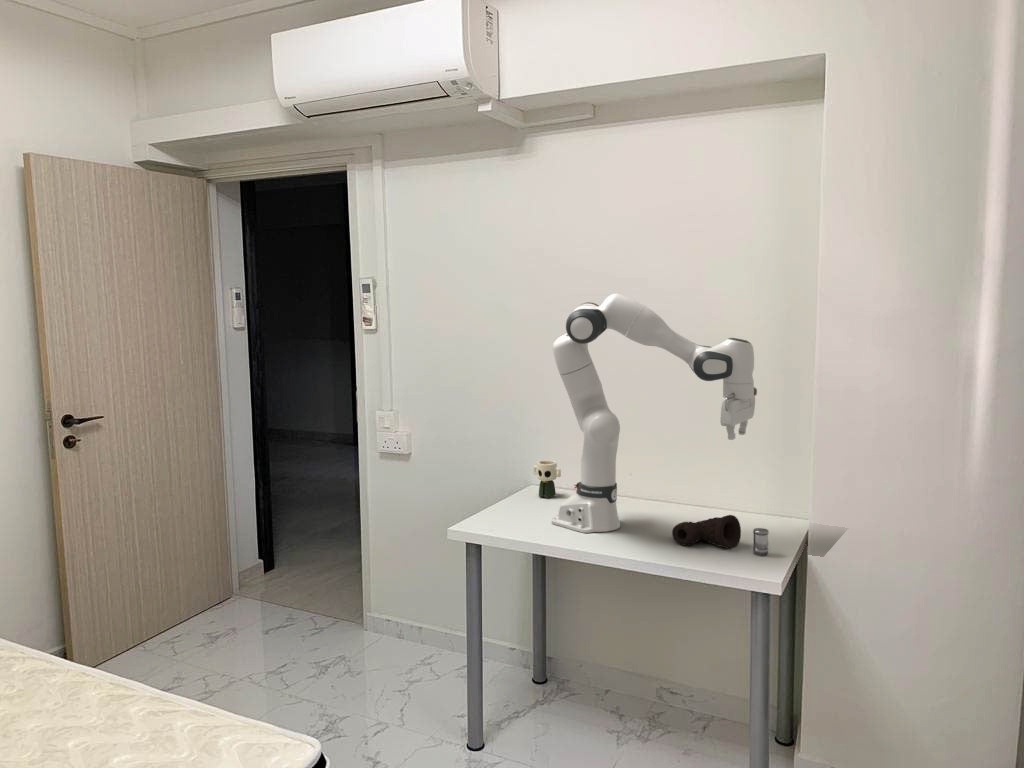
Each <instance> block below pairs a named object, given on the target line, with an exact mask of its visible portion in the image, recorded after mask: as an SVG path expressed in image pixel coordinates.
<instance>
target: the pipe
mask: <svg viewBox="0 0 1024 768" xmlns="http://www.w3.org/2000/svg"><path fill="white" fill-rule="evenodd" d="M741 527H742V526H741V524H740V520H739V519H738V518H737V517H736V516H735V515H733V514H727V515H724V516H722V517H713V518H708V519H703V520H698V521H696V522H694V521H683V522H679V523H677V524H676V525H675V526H673V528H672V531H671V533H672V534H671V535H672V539H673V540H674V541H675V542H676V543H677V544H679V545H681V546H690V545H693V544H694V543H697V542H698V541H701V540H705V542H706V543H710V544H712V545H717V546H719V547H722V548H725V549H733V548H735V547H737V546H738V544H739V543H740V540H741V536H742V529H741Z"/></svg>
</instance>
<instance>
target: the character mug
mask: <svg viewBox="0 0 1024 768" xmlns="http://www.w3.org/2000/svg"><path fill="white" fill-rule="evenodd" d="M557 472H558V473H557ZM561 472H562V471H561V468H560V467H557V461H555V460H548V459H547V460H539V461H537V465H533V475H537V479H538V480H540V482H539V487H538V496H539V497H541V498H543V497H544V498H553V497H554V496H556V495H557V494H556V486H555V482H554V481H555V480H556V479H557V478H561V476H562V475H561V474H562V473H561Z"/></svg>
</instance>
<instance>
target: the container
mask: <svg viewBox="0 0 1024 768" xmlns="http://www.w3.org/2000/svg"><path fill="white" fill-rule="evenodd" d="M752 531H753V532H752V533H753V537H752V538H753V539H752V540H753V542H752V543H753V544H752V545H753V546H752V553H753V555H754V556H757V557H766V556H768V555H769V533H770V531H769V529H767V528H764V527H763V528H762V527H756V528H753V529H752Z"/></svg>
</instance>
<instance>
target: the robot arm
mask: <svg viewBox="0 0 1024 768" xmlns="http://www.w3.org/2000/svg"><path fill="white" fill-rule="evenodd" d="M565 330H566V333H564V334H563V335H561V336H559V337H558V338H556V340H555V341H554V342H553V345H552V351H553V356H554V360H555V364H556V367H557V370H558V373H559V375H560V378H561V380H562V383H563V385H564V388H565V390H566V392H567V396H568V397H569V398H568V399H569V400H570V401H569V402H570V404H571V408H572V409H573V412H574V415H575V417H576V421H577V423H578V426H579V428H580V430H581V431H582V433H583V447H582V455H581V458H580V466H581V467H580V473H581V474H580V481H579V482H577V483H576V484H574V485H573V486H574V487H573V489H576V491H575V493H573V494H572V495H571V496H569V497H568V498H566V499H565V500H564V501H562V502H561V504H560V506H559V510H558V515H555V516H554V517H552V519H551V524H552V525H556V526H560V527H563V528H566V529H569V530H573V531H577V532H581V533H584V534H588V533H595V532H596V533H598V532H599V533H600V532H611V531H616V530H618V529H619V528H620V527H621V522H620V520H619V513H618V507H617V506H618V505H617V500H618V484H617V483H618V482H616V481H617V479H616V478H617V477H616V476H617V474H616V473H617V472H616V471H617V469H616V468H617V463H616V462H617V453H618V449H619V447H618V446H619V441H620V433H621V425H620V420H619V418H618V416H617V415H616V413H614V412H613V411H612V410H611V409H610V407H609V406H608V402H607V399H606V396H605V393H604V390H603V384H602V382H601V380H600V377H599V375H598V372H597V370H596V369H597V368H596V367H595V365H594V361H593V360H592V357H591V354H590V352H589V347H588V346H589V343H592V342H593V341H595V340H596V339H597V338H598V337H599V336H601V335H602V334H603V333H604V332H605V331H606V330H613V331H616V332H617V333H618V334H621V335H622V336H624V337H626V338H627V339H628V340H630V341H633V342H636V343H638V344H640V345H643V346H647V347H657V348H661V349H663V350H665V351H667V352H669V353H670V354H672V355H674V356H676V357H677V358H679V359H680V360H683V361H684V362H686V364H687V365H688V366H689V368H690V370H691V371H692V372H693V373H694V374H695V376H696V377H697V378H699V379H700V380H702V381H704V382H713V381H717V380H718V381H719V380H722V381H723V382H722V383H723V384H722V397H723V398H725V399H724V400H723V401H722V403H721V408H720V420H719V421H720V425H721V427H726V432H727V439H728V440H730V441H733V440H735V439H736V433H735V429H736V426H737V425H738V424H739V428H738V435H739V436H740V435H741V436H743V435H746V432H747V426H748V422H749V420H750V419H752V418H754V414H755V409H756V408H755V407H756V396H757V395H758V388H757V387H755V386H754V384H755V383H754V382H755V381H754V376H753V373H754V371H755V370H754V369H755V350H754V345H753V344H752V343H751V342H750V341H748V340H746V339H741V338H737V337H728V338H726V340H724V341H722V342H721V343H719V344H716V345H714V346H709V345H699V344H697V343H695V342H693V341H691V340H689V339H688V338H686V337H684V336H683V335H682V334H681V335H680V334H679V333H677V332H676V331H674V330H673V329H671V328H670V326H669V325H668V324H667V323H666V322H665V320H664V319H663V318H662V317H661V316H660V315H659V314H657V313H656V312H655V311H654V310H652V309H651V308H649V307H648V306H646V305H645V304H643V303H642V302H639V301H637V300H635V299H633V298H631V297H629V296H626V295H623V294H620V293H611V295H609V296H607V297H606V298H605V299H604V301H602V303H601V304H600V305H598V304H597V303H594V302H584V303H581V304H579V305H578V306H576V307H575V308H573V309H572V311H571V312H570V314H569V315H568V317H567V319H566V321H565Z"/></svg>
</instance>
